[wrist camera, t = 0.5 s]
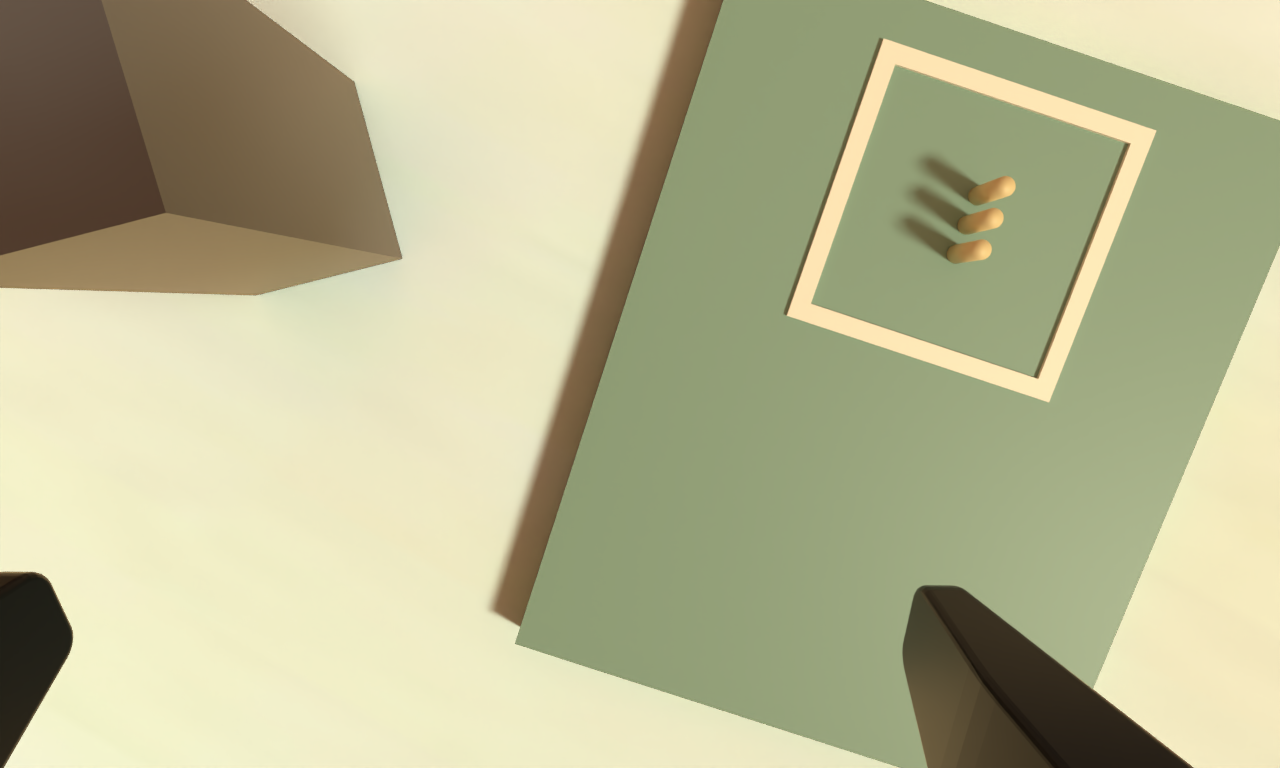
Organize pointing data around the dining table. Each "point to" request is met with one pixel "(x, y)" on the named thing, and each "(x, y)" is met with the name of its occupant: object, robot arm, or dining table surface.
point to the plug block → (178, 152)
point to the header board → (901, 360)
